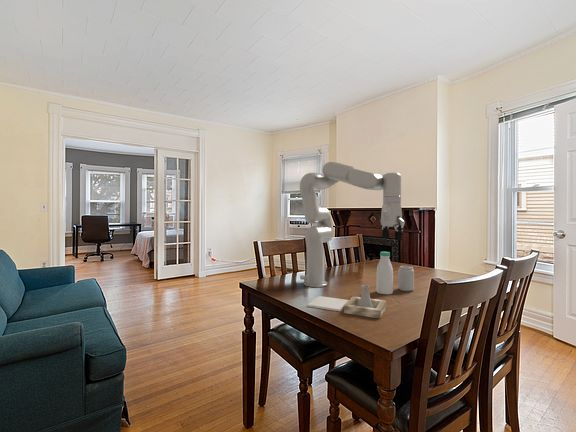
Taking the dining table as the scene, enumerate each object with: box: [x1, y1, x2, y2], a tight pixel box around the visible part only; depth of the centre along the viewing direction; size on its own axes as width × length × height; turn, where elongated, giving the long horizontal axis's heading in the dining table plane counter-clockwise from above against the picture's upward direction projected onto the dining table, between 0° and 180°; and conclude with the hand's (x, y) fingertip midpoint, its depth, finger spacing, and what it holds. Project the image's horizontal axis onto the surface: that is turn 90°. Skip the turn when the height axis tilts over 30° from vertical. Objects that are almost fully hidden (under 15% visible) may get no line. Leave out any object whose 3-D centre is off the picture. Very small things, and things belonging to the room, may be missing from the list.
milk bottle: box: [375, 251, 394, 295], centre depth 151 cm, size 8×8×20 cm
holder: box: [343, 296, 387, 320], centre depth 126 cm, size 14×14×3 cm
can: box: [397, 265, 415, 292], centre depth 156 cm, size 8×8×12 cm
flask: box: [357, 284, 374, 308], centre depth 126 cm, size 7×7×10 cm
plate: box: [307, 295, 350, 312], centre depth 134 cm, size 14×14×1 cm
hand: (391, 239), depth 138 cm, fingers open, 9 cm apart
